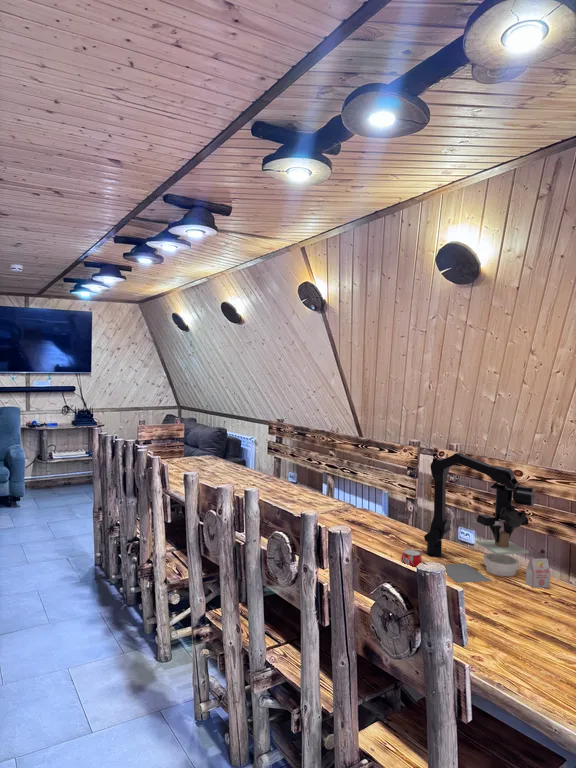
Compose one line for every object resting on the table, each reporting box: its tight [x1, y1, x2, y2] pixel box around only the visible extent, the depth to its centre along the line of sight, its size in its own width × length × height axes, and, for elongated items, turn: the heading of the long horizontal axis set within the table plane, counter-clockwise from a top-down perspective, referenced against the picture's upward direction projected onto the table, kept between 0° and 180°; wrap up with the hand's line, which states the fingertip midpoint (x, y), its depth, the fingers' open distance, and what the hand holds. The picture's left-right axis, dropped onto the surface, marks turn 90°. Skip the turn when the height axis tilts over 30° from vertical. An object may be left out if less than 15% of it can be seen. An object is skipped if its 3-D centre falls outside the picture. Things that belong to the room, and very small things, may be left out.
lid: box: [475, 530, 530, 555], centre depth 194 cm, size 14×14×6 cm
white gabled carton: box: [525, 558, 551, 590], centre depth 182 cm, size 4×7×10 cm, turn 99°
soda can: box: [400, 548, 423, 567], centre depth 177 cm, size 7×7×12 cm
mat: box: [441, 562, 492, 584], centre depth 191 cm, size 17×14×1 cm
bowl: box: [483, 552, 520, 577], centre depth 194 cm, size 12×12×5 cm
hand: (501, 542), depth 194 cm, fingers closed on lid, 3 cm apart
